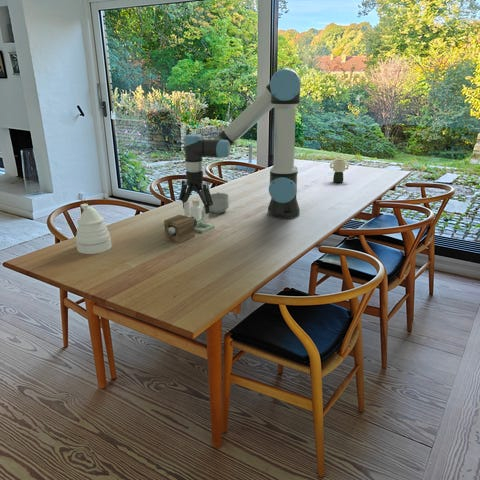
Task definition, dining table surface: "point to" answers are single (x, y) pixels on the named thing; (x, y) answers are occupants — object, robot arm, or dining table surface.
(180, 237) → the bearing block
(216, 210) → the teacup
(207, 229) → the keeper socket
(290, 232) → the dining table surface
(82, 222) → the honey pot
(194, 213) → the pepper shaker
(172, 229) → the shaft
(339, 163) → the trophy cup
